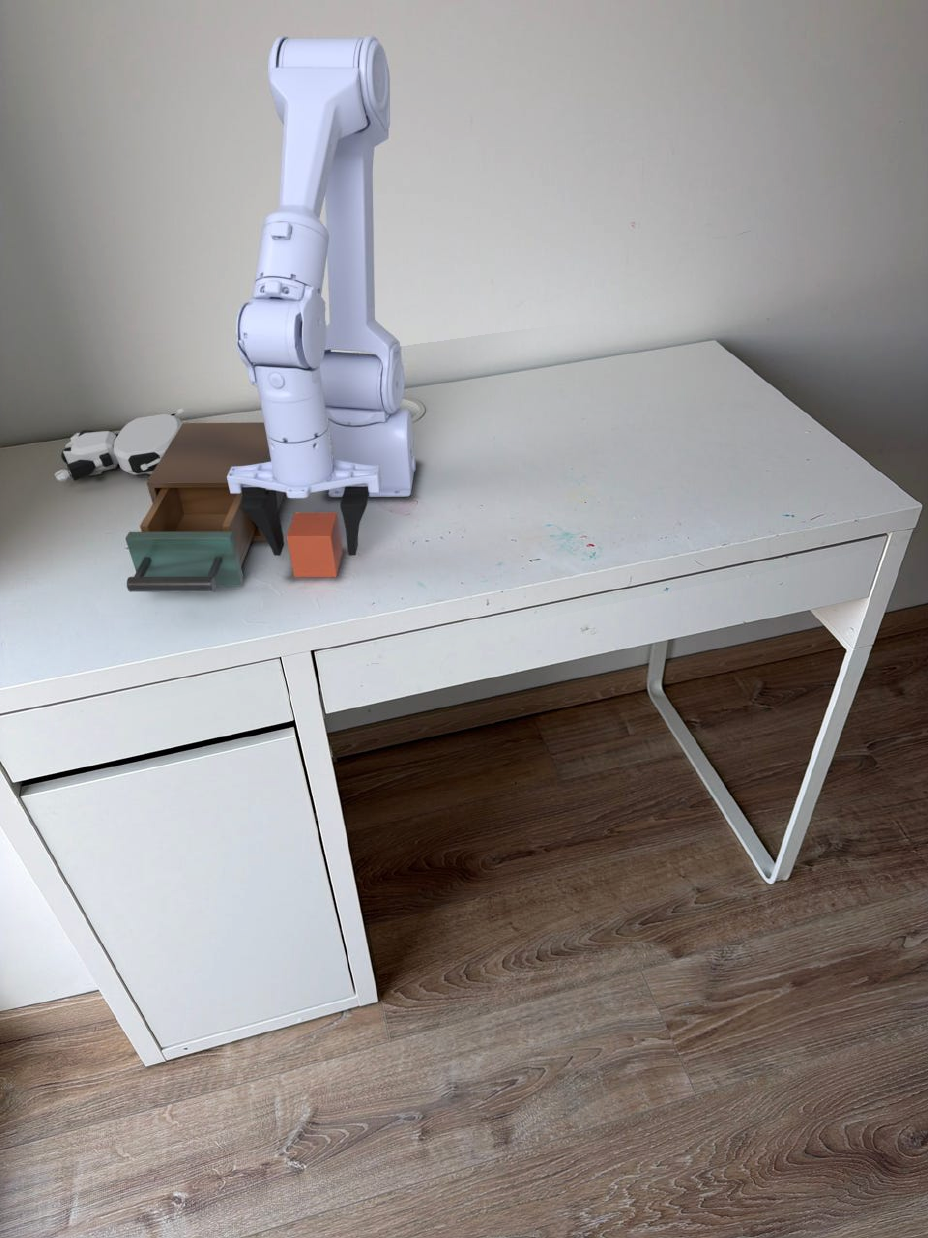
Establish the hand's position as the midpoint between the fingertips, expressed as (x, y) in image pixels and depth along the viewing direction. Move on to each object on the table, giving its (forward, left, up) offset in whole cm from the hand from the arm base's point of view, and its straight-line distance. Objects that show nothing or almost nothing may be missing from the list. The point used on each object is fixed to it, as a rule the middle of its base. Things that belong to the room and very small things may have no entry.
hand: (316, 550), depth 90 cm
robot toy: (+27, -21, -2) cm, 34 cm away
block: (0, 0, -2) cm, 2 cm away
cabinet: (+12, -11, -2) cm, 16 cm away
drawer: (+12, +1, -1) cm, 12 cm away
